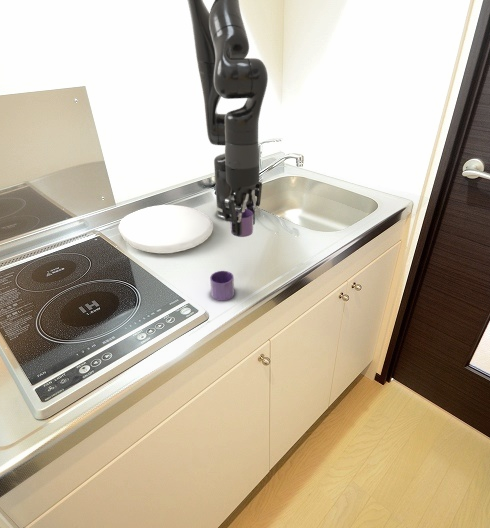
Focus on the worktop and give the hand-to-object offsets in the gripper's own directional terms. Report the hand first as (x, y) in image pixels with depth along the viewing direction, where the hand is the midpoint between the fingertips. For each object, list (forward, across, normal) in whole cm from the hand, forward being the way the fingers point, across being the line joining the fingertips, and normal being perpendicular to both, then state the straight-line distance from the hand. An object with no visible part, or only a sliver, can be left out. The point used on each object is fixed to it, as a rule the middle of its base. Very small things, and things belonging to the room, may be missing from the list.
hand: (243, 229), depth 90 cm
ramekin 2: (+1, 0, -1) cm, 1 cm away
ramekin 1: (+13, +10, 0) cm, 17 cm away
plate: (+14, -6, -32) cm, 36 cm away
